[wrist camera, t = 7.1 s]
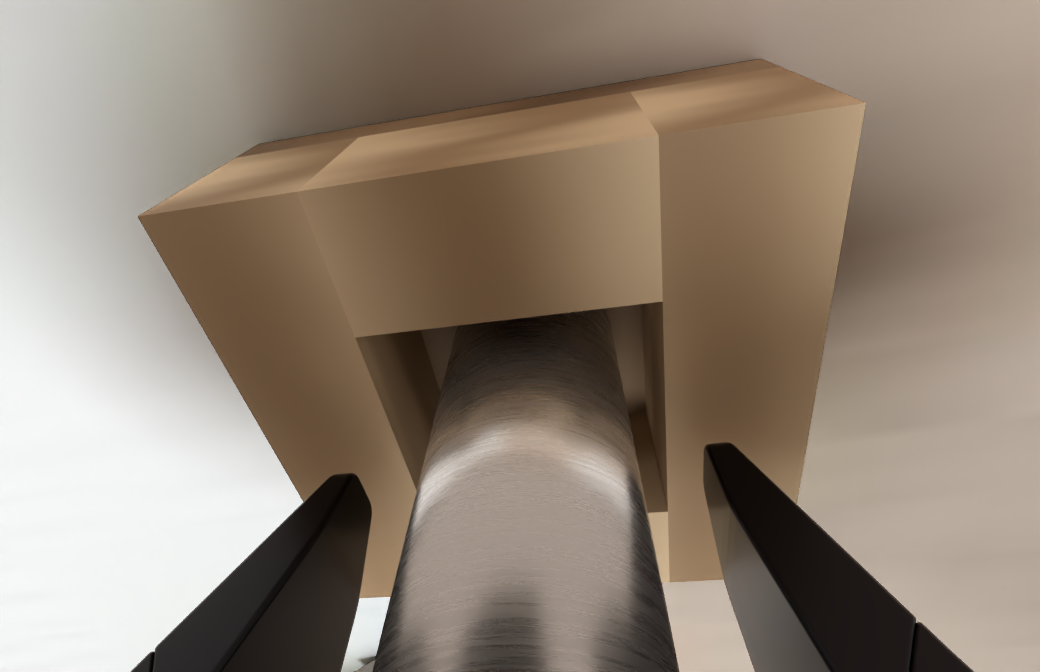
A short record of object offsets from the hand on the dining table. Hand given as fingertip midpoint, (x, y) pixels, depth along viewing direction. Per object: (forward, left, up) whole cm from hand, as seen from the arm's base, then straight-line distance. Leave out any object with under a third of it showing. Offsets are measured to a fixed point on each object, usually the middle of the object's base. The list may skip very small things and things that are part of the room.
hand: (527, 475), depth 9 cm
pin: (0, 0, -4) cm, 4 cm away
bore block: (0, 0, -5) cm, 5 cm away
